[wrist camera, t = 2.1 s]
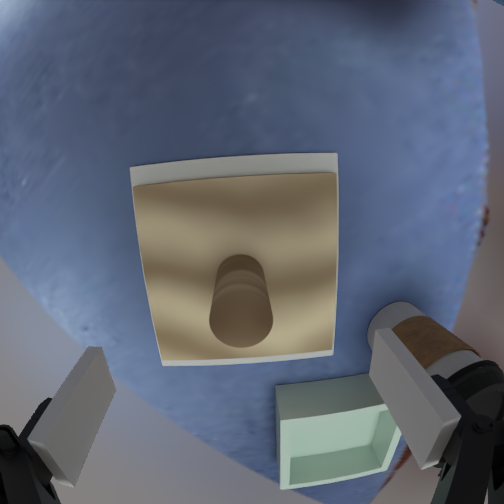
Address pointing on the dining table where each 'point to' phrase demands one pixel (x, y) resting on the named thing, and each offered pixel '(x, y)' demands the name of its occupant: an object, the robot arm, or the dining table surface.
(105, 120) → the dining table surface
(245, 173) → the mat
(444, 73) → the dining table surface
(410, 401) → the robot arm
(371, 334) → the coffee cup
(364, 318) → the dining table surface
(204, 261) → the lid
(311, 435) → the dish
